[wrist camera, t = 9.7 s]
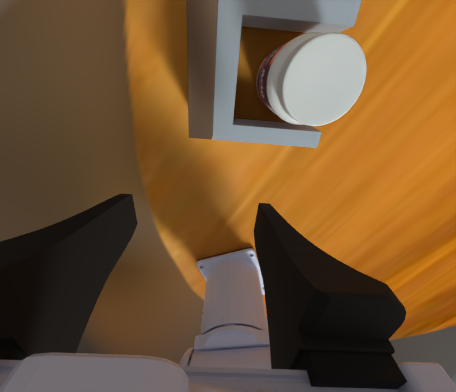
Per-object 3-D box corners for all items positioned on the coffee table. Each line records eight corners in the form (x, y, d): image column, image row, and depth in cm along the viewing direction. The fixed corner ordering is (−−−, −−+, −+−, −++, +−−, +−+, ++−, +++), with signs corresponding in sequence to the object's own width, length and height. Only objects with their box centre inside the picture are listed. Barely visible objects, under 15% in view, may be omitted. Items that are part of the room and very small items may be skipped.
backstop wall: (221, -7, 14) (218, -44, 10) (215, 125, 19) (211, 139, 15) (198, -9, 14) (185, -48, 10) (197, 124, 19) (188, 137, 14)
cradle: (337, 13, 15) (362, -1, 12) (304, 137, 19) (317, 147, 17) (220, 1, 15) (219, -17, 12) (214, 130, 19) (212, 139, 16)
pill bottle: (270, 35, 16) (308, -3, 8) (323, 62, 16) (399, 48, 9) (246, 99, 18) (258, 113, 11) (293, 119, 19) (335, 146, 11)
